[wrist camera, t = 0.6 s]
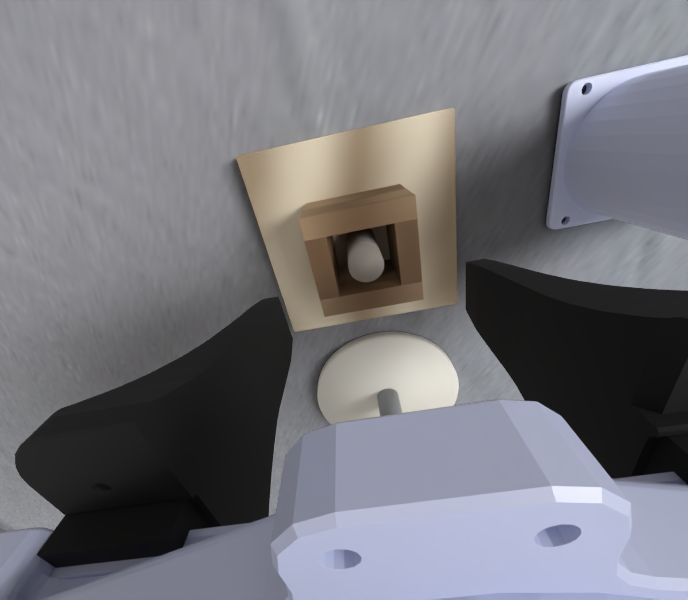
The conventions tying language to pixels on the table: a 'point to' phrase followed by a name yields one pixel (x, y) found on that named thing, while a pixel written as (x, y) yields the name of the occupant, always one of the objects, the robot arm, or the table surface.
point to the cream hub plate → (385, 377)
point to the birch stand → (348, 178)
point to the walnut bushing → (358, 214)
